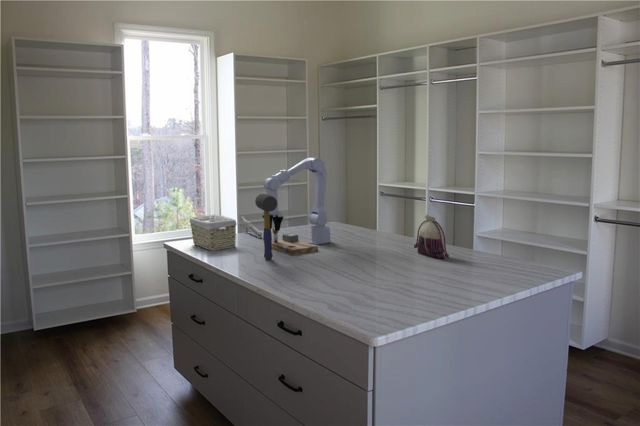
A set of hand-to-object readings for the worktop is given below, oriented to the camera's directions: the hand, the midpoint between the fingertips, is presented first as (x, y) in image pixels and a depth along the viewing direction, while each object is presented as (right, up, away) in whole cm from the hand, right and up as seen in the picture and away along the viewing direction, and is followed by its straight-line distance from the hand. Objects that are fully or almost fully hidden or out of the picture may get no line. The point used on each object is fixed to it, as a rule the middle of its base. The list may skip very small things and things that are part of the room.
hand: (273, 229), depth 274 cm
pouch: (+73, -11, -23) cm, 78 cm away
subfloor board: (+9, -9, 0) cm, 13 cm away
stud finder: (+8, -6, +8) cm, 13 cm away
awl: (+1, -6, +5) cm, 8 cm away
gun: (-16, -4, +41) cm, 44 cm away
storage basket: (-32, -9, +12) cm, 35 cm away
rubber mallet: (0, -13, -22) cm, 25 cm away
